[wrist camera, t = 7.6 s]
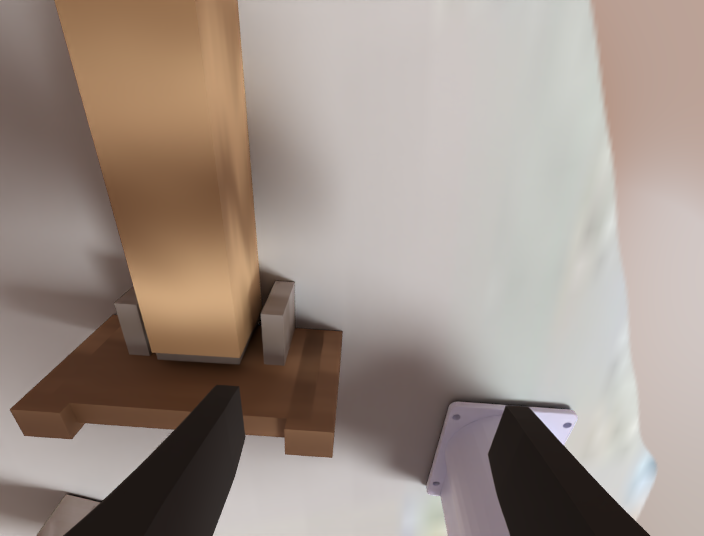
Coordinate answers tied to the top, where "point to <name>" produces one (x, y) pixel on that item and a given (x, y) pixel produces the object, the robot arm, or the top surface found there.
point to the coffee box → (67, 515)
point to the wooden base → (194, 381)
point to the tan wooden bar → (174, 164)
